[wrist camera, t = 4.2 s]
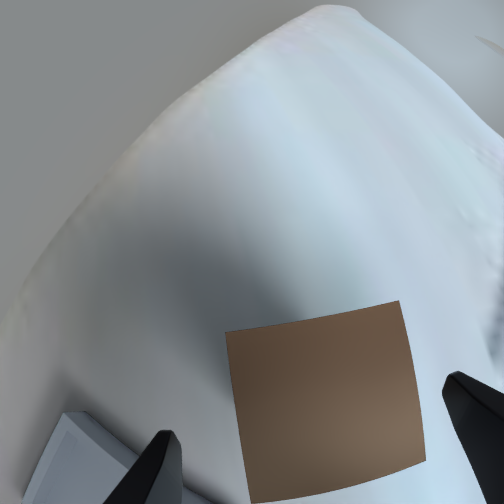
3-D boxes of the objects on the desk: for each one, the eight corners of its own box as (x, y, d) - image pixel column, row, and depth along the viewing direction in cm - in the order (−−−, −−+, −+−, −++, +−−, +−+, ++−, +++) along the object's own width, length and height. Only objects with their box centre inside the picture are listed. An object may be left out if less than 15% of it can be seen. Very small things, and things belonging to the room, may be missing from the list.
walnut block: (336, 418, 15) (425, 460, 5) (263, 431, 15) (251, 503, 5) (325, 349, 17) (398, 300, 7) (253, 362, 17) (225, 332, 7)
